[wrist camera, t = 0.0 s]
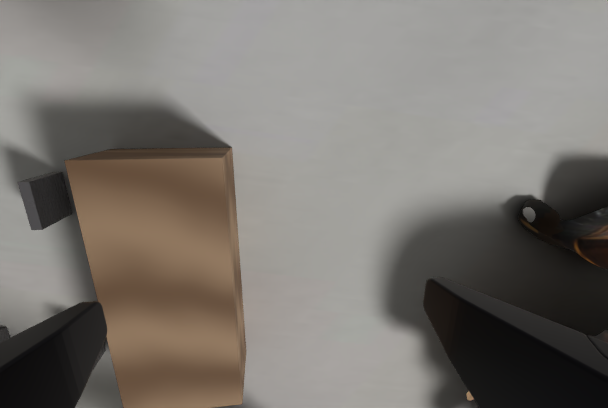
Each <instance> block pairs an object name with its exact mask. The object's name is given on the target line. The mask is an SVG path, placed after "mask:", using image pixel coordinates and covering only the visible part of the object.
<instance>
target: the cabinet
mask: <svg viewBox="0 0 608 408" xmlns="http://www.w3.org/2000/svg"><path fill="white" fill-rule="evenodd" d="M65 165H66V169H67V173H68V178H69V182H70V186H71V190H72V194H73V199H74V203H75V207H76V211H77V215H78V220H79V224H80V228H81V232H82V236H83V241H84V245H85V249H86V253H87V257H88V261H89V266H90V270H91V274H92V278H93V282H94V287H95V291H96V295H97V299H98V302H100V303H101V305H102V307H103V311H104V316H105V320H106V324H107V336H106V337H107V341H108V345H109V349H110V354H111V358H112V362H113V366H114V370H115V375H116V379H117V383H118V387H119V391H120V395H121V400H122V404H123V408H213V407H222V406H231V405H239V404H242V400H243V387H244V374H245V361H246V342H245V328H244V313H243V299H242V285H241V270H240V256H239V242H238V228H237V213H236V199H235V185H234V170H233V156H232V147H231V148H152V149H110V150H105V151H101V152H97V153H93V154H89V155H85V156H81V157H77V158H73V159H69V160H65ZM18 185H19V189H20V192H21V196H22V199H23V202H24V206H25V209H26V213H27V216H28V220H29V223H30V226H31V230H43V229H44V228H46V227H48V226H50V225H52V224H54V223H56V222H58V221H60V220H61V219H63V218H65V217H67V216H69V215H71V214H72V210H71V206H70V202H69V198H68V194H67V190H66V186H65V182H64V178H63V173H62V172H51V173H48V174H44V175H41V176H37V177H34V178H30V179H27V180H23V181H20V182H18ZM9 338H10V336H9V333H8V330H7V328H6V327H2V328H0V343H1V342H3V341H5V340H7V339H9ZM105 351H106V350H105V346H104V343H103V346H102V348H101V350H100V353H99V355H98V357H97V360H96V362H95V364H94V367H95V366H96V364H97V363H98V361H99V360H100V358H101V357H102V355H103V354H104V352H105ZM94 367H93V369H94ZM93 369H92V370H93ZM91 372H92V371H91Z"/></svg>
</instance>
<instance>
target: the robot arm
mask: <svg viewBox="0 0 608 408" xmlns="http://www.w3.org/2000/svg"><path fill="white" fill-rule="evenodd" d="M423 305H424V309H425V312H426V314H427V316H428V318H429V320H430V322H431V324H432V326H433V328H434V330H435V332H436V334H437V336H438V338H439V340H440V342H441V344H442V346H443V348H444V350H445V352H446V354H447V356H448V358H449V359H450V361H451V363H452V364H453V366H454V368H455V369H456V371H457V373H458V374H459V376H460V377H461V379H462V381H463V382H464V384H465V385H466V387H467V389H468V390H469V392H470V394H471V395H472V397H473V398H474V400H475V402H476V403H477V405H478V406H479V408H608V343H606V342H604V341H601V340H599V339H596V338H594V337H591V336H586V335H585V334H584V333H581V332H579V331H576V330H574V329H571V328H569V327H566V326H564V325H561V324H559V323H556V322H554V321H551V320H548V319H546V318H543V317H541V316H538V315H536V314H533V313H531V312H528V311H526V310H523V309H521V308H518V307H516V306H513V305H511V304H508V303H506V302H503V301H501V300H498V299H496V298H493V297H491V296H488V295H486V294H483V293H481V292H478V291H476V290H473V289H471V288H468V287H465V286H463V285H460V284H458V283H455V282H453V281H450V280H448V279H445V278H443V277H435V278H429V279H428V280H427V281H426V286H425V293H424V300H423ZM106 336H107V324H106V320H105V316H104V311H103V307H102V305H101V303H100V302H98V301H93V302H82V303H79V304H77V305H75V306H73V307H71V308H69V309H67V310H65V311H63V312H61V313H59V314H57V315H55V316H53V317H51V318H49V319H47V320H45V321H43V322H41V323H39V324H37V325H35V326H33V327H31V328H29V329H27V330H25V331H23V332H21V333H19V334H17V335H15V336H13V337H11V338H9V339H7V340H5V341H3V342H1V343H0V408H75V406H76V404H77V402H78V400H79V398H80V396H81V394H82V392H83V390H84V388H85V386H86V383H87V381H88V379H89V376H90V374H91V371H92V369H93V367H94V364H95V362H96V360H97V357H98V355H99V353H100V350H101V348H102V346H103V343H104V341H105V339H106Z"/></svg>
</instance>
